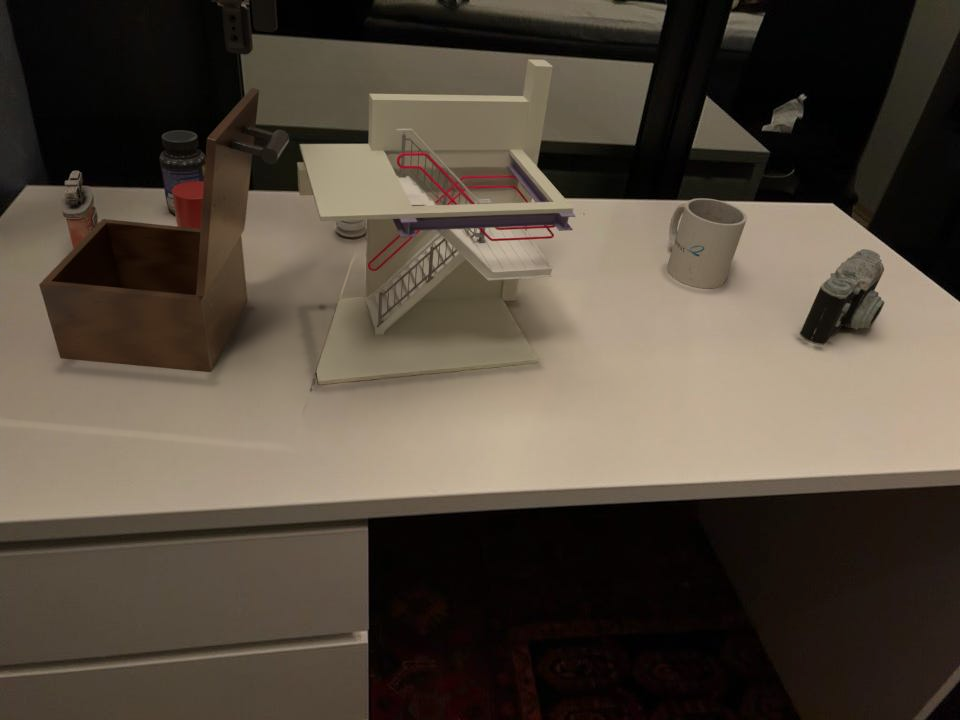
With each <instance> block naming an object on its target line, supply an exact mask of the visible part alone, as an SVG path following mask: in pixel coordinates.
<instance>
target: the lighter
mask: <svg viewBox="0 0 960 720" xmlns="http://www.w3.org/2000/svg"><path fill="white" fill-rule="evenodd" d="M83 182H84V178H83V173H82V172H80V170H73V171H71V173H70V174H69V178H68V179H67V180H64V195H63V197H62V199H61V204H60V207H61V212H62V216H63V218H65V220H66V224H67V225H66V226H67V228H68V233H69V237H70V241H71V245H72V248H73V249H74V248H75V247H76V246H77V245H78V244H79V243H80V242H81V241H82V240H83V239H84V238H85V237H86V236H87V235H88V234H89V233H90V231H91V230H92V229H93V228H94V227H95V226H96V225H97V224H98V223H99V220H98V219H99V217H98V212H97V208H96V207H95V206H94V201H95V198H94V193H93V188H92V187H91V186H89V185H83ZM73 249H72V250H73Z"/></svg>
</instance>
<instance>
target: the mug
mask: <svg viewBox="0 0 960 720" xmlns="http://www.w3.org/2000/svg"><path fill="white" fill-rule="evenodd" d="M747 220H748V217H747V215H746V213H745V212H744V211H743V210H742V209H741V208H739V207H738V206H735V205H733V204H731V203H729V202H726V201H722V200H719V199H713V198H704V197H699V198H692V199H689V200H688V201H686V202H684V203H681V204H679V205H678V206H677V207H676V209H675V210H674V212H673V214H672V217H671V218H670V223H669V230H668V236H669V244H670V245H671V247H672V249H671V252H670V255H669V258H668V262H667V266H666V270H667V272H668V274H669V275H670V276H671V277H672V278H674V279H675V280H676V281H678V282H679V283H682V284H684V285H687V286H690V287H693V288H699V289H716V288H719V287H721V286H723V285H724V284H725V282H726V280H727V277H728V274H729V271H730V269H731V266H732V263H733V260H734V257H735V255H736V252H737V248H738V246H739V243H740V239H741V237H742V234H743V231H744V228H745V226H746V222H747Z"/></svg>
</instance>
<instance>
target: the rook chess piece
mask: <svg viewBox="0 0 960 720" xmlns="http://www.w3.org/2000/svg"><path fill="white" fill-rule="evenodd" d="M335 225H336V226H335V232H336V233H337V234H338V235H339V236H341V237H343V238H346V239H357V238H361V237H362V236H364V235H365V234H366V233H367V227H366V226H367V221H366V220H341V221H335Z"/></svg>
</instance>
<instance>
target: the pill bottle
mask: <svg viewBox="0 0 960 720" xmlns="http://www.w3.org/2000/svg"><path fill="white" fill-rule="evenodd" d="M161 143H162V146H163V148H164V150H163V151H162V152H161V153H160V155H159V165H160V170H161V176H162V177H161V178H162V183H163V190H164V195H165V201H166V207H167V210H168V211H169V212H170V213H171V214H173V215H175V216H176V214H175V208H174V201H173V195H172V189H173V187H175V186H176V185H178V184H180V183H184V182H189V181H203V182H204V173H205V158H206V154H205V153H204V152H203V151H202V150H201V149H199V148H198V147H199V143H200V142H199V137H198V134H197V133H195V132H194V131H190V130H182V129H179V130H170V131H167V132H164V133H162V135H161Z"/></svg>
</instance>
